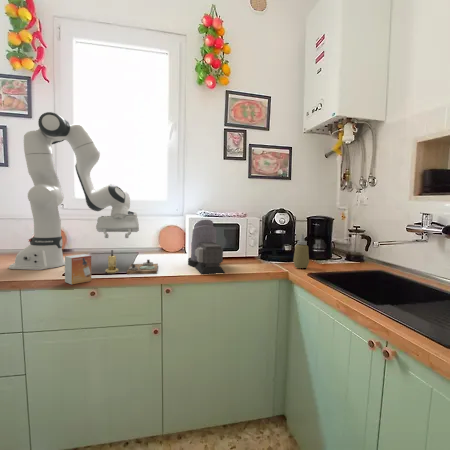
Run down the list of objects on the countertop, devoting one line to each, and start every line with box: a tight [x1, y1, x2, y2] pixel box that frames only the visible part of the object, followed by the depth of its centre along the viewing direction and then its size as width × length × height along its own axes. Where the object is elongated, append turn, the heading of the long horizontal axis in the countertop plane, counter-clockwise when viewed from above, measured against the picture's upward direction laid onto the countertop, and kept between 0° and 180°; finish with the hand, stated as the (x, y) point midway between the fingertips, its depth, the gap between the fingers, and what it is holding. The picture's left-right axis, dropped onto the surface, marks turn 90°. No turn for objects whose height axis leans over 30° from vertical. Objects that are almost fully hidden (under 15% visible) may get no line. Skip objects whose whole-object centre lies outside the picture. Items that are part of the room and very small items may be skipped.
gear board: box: [126, 259, 159, 275], centre depth 135 cm, size 13×15×4 cm
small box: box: [64, 253, 92, 285], centre depth 112 cm, size 8×6×10 cm
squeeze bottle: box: [293, 233, 310, 269], centre depth 149 cm, size 8×8×18 cm
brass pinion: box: [105, 249, 120, 274], centre depth 129 cm, size 6×6×10 cm
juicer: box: [187, 219, 226, 275], centre depth 145 cm, size 30×16×24 cm, turn 18°
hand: (116, 237), depth 138 cm, fingers open, 8 cm apart
